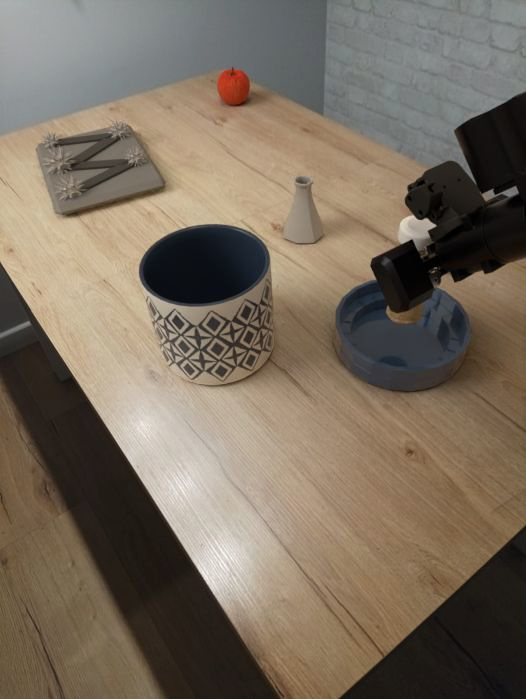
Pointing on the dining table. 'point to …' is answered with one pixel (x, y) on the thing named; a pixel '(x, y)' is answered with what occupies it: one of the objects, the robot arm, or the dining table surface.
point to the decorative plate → (96, 168)
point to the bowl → (400, 339)
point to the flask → (303, 214)
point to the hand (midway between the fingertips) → (403, 268)
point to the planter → (210, 302)
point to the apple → (233, 86)
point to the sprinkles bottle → (421, 238)
